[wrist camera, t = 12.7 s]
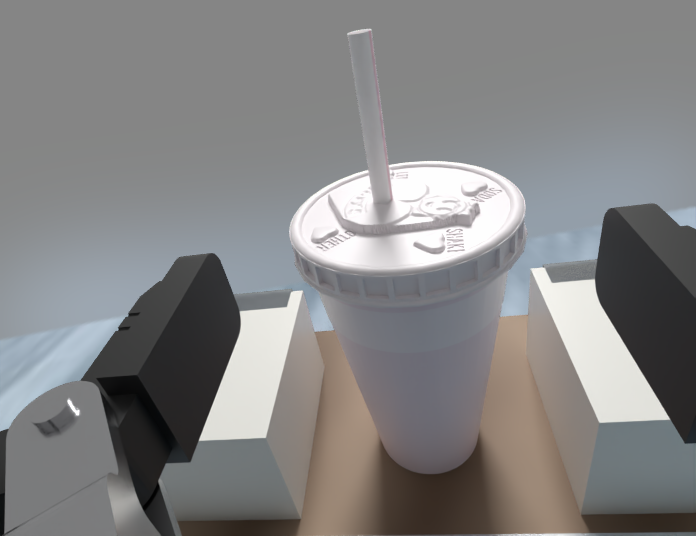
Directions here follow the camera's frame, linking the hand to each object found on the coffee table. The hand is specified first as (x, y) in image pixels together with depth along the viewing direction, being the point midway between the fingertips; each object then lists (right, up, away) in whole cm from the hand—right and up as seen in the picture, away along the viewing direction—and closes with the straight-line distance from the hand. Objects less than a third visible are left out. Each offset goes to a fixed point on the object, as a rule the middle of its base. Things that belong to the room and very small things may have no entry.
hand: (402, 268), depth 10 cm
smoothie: (+2, -6, +8) cm, 10 cm away
